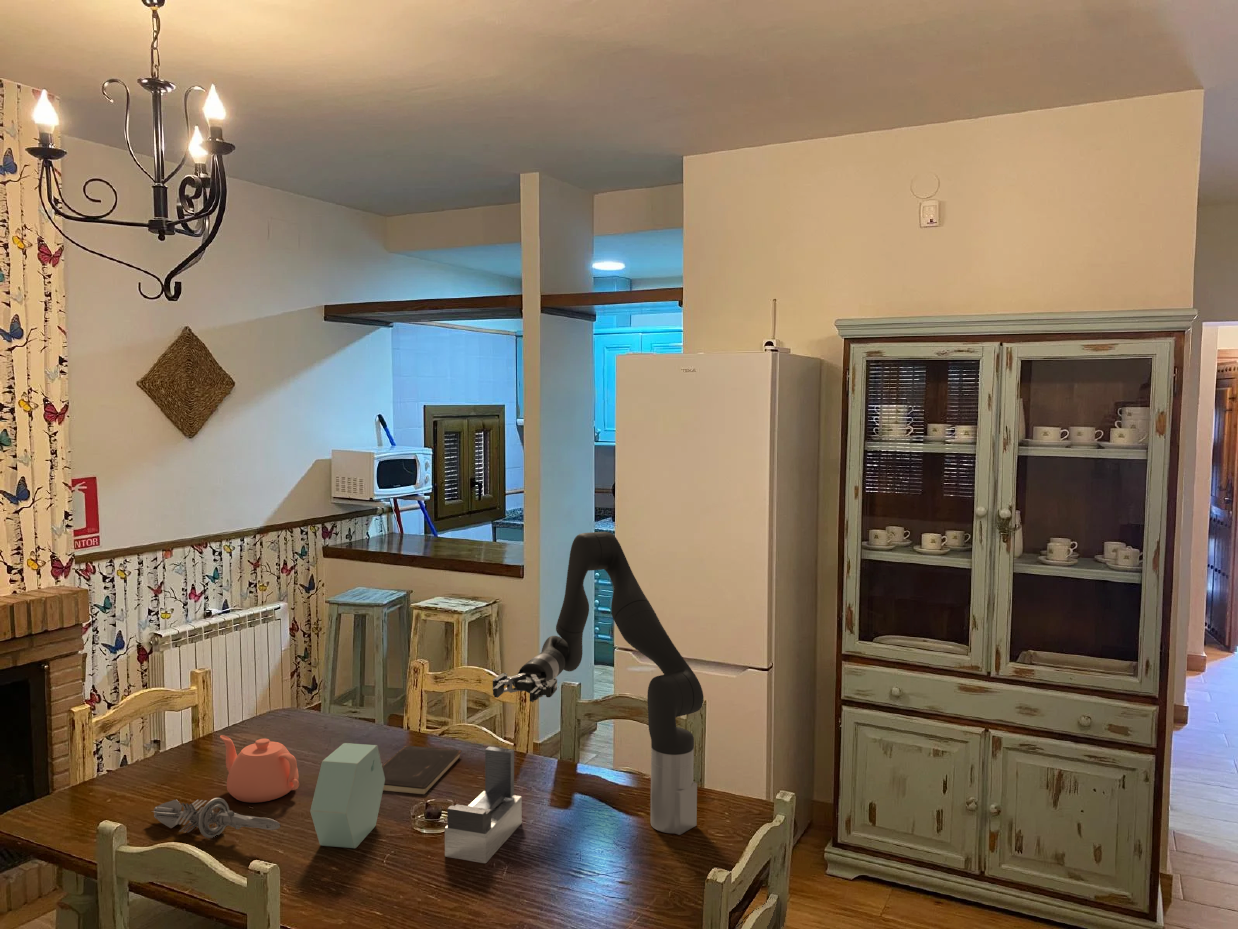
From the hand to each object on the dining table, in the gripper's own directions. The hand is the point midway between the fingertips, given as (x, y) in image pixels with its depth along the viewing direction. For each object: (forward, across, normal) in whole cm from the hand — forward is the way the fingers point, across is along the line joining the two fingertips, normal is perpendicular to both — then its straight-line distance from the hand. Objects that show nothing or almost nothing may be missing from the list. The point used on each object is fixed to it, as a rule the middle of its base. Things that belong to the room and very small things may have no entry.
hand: (513, 695), depth 199 cm
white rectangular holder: (+15, 0, +26) cm, 30 cm away
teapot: (+9, -60, +27) cm, 67 cm away
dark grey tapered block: (+12, 0, +20) cm, 23 cm away
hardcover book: (-12, -31, +28) cm, 43 cm away
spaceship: (+30, -55, +27) cm, 68 cm away
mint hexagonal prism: (+21, -28, +26) cm, 44 cm away
